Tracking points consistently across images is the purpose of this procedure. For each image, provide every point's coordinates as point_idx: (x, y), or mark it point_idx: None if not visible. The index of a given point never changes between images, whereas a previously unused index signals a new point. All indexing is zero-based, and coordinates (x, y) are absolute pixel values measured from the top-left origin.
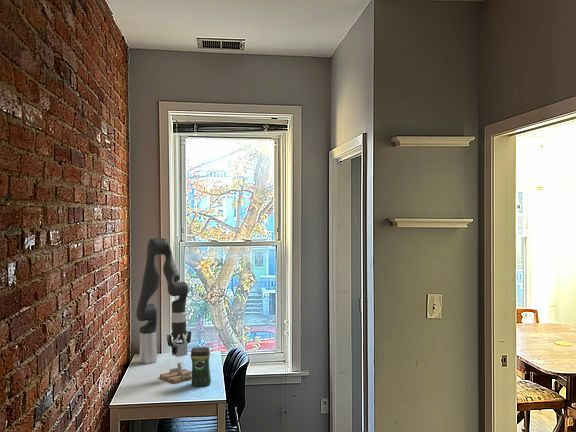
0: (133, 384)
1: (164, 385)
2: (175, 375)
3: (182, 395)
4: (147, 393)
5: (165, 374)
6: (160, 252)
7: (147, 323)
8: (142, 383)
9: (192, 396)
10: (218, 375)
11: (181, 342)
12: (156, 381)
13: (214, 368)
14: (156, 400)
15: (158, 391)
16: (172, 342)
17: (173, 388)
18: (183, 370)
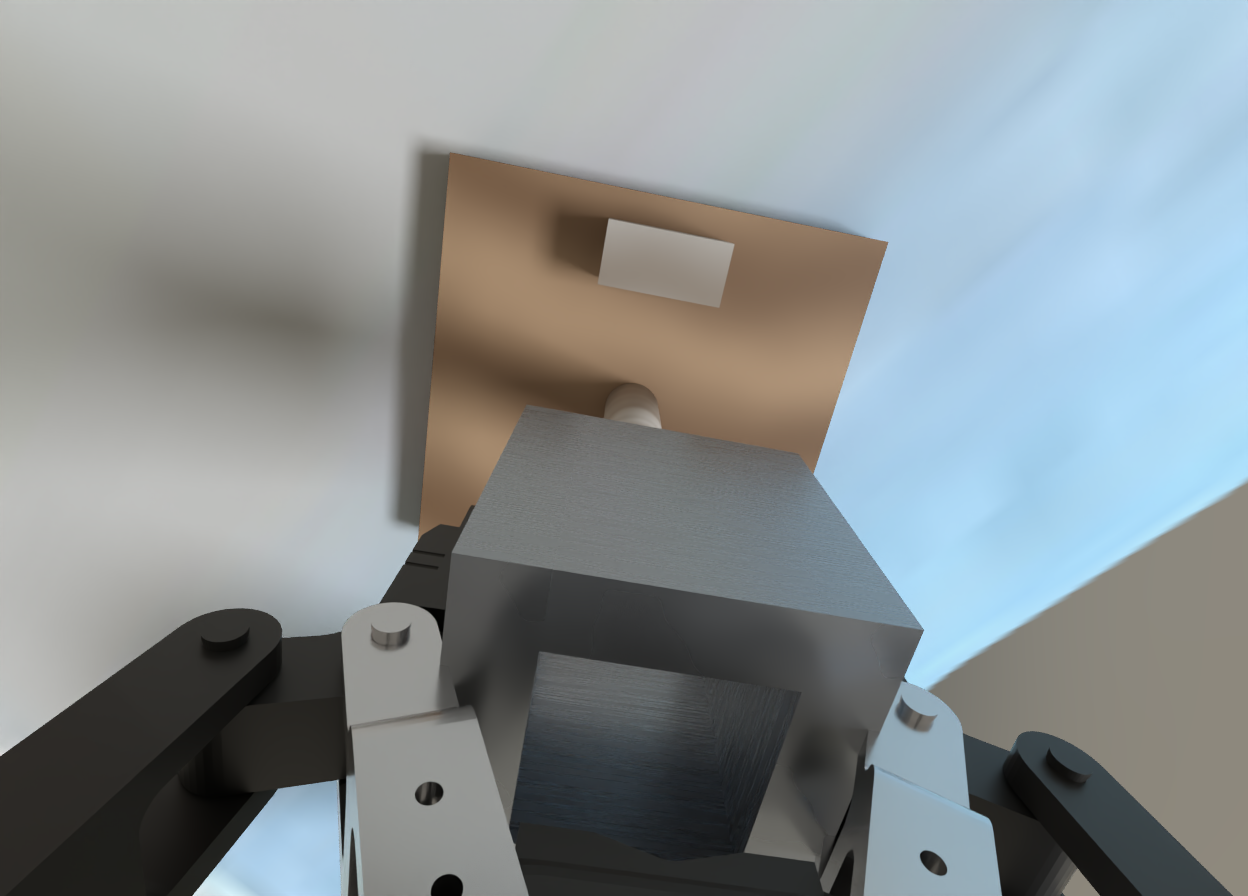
0: (6, 89)
1: (307, 479)
2: (569, 389)
3: (264, 809)
4: (21, 538)
5: (515, 224)
6: None
7: None
8: (134, 169)
9: (311, 874)
10: (919, 684)
11: (807, 732)
12: (326, 267)
13: (1168, 471)
14: (14, 740)
15: (148, 578)
16: (348, 748)
17: (319, 626)
18: (813, 298)
